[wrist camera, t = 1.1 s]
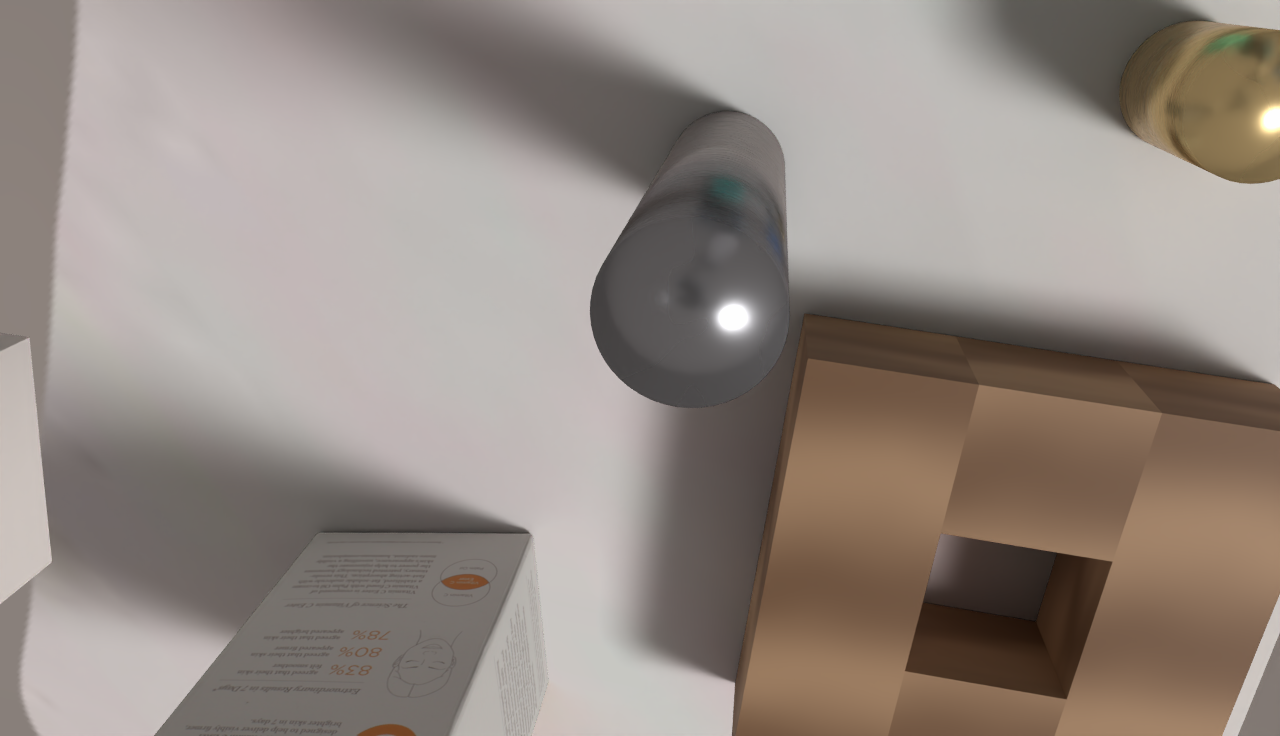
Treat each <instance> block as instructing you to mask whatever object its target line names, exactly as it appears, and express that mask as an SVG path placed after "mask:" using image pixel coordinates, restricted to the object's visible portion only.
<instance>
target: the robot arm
mask: <svg viewBox="0 0 1280 736" xmlns="http://www.w3.org/2000/svg"><path fill="white" fill-rule="evenodd" d="M51 562H52V557H51V547H50V537H49V527H48V517H47V507H46V497H45V488H44V478H43V468H42V458H41V448H40V438H39V428H38V418H37V408H36V399H35V388H34V378H33V368H32V358H31V348H30V339H29V337H24V336H18V335H12V334H5V333H0V603H2V602H3V601H4V600H6V599H7V598H8V597H9V596H11V595H12V594H13V593H14V592H16V591H17V590H18V589H19V588H20V587H22V586H23V585H24V584H25V583H27V582H28V581H29V580H30V579H32V578H33V577H34V576H35V575H37V574H38V573H39V572H40V571H42V570H43V569H44V568H45V567H47V566H48V565H49V564H50V563H51ZM1238 736H1280V634H1279V637H1278V639H1277V641H1276V644H1275V646H1274V649H1273V651H1272V654H1271V656H1270V659H1269V661H1268V663H1267V666H1266V668H1265V671H1264V673H1263V676H1262V678H1261V681H1260V683H1259V686H1258V688H1257V690H1256V693H1255V695H1254V698H1253V700H1252V703H1251V705H1250V708H1249V710H1248V712H1247V715H1246V717H1245V720H1244V722H1243V725H1242V727H1241V730H1240V732H1239V735H1238Z"/></svg>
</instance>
